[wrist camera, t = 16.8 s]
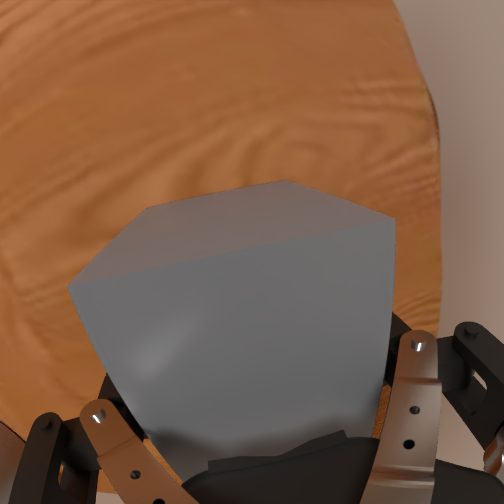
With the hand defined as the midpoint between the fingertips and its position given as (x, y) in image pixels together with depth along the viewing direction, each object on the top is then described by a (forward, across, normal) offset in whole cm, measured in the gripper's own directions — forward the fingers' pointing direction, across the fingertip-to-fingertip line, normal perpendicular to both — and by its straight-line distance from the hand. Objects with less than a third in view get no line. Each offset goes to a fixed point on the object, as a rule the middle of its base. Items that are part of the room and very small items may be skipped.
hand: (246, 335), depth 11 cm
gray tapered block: (+4, 0, 0) cm, 4 cm away
